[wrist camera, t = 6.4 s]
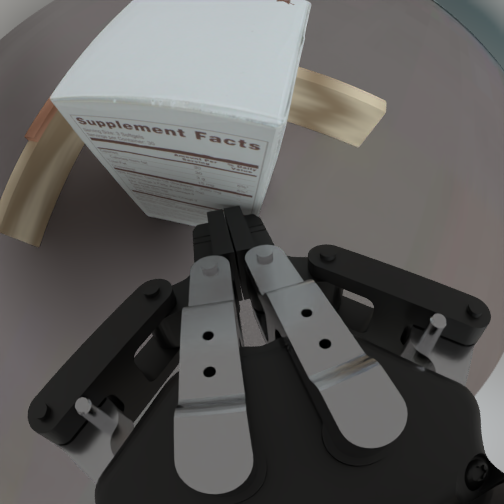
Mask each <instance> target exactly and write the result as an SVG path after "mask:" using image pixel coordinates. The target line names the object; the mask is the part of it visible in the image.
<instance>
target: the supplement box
mask: <svg viewBox="0 0 504 504" xmlns="http://www.w3.org/2000/svg"><path fill="white" fill-rule="evenodd" d="M310 8H311V3H310V2H308V1H305V0H133V1H132V2H131V3H130V4H128V5H127V6H126V7H125V8H124V9H123V10H122V11H121V12H120V13H119V14H118V15H117V16H116V17H115V18H114V19H113V20H112V21H111V22H110V23H109V24H108V25H107V26H106V27H105V28H104V29H103V30H102V31H101V32H100V34H99V35H98V36H97V37H96V38H95V39H94V40H93V41H92V43H91V44H90V45H89V46H88V47H87V48H86V50H85V51H84V52H83V53H82V54H81V56H80V57H79V58H78V59H77V61H76V62H75V63H74V64H73V66H72V67H71V68H70V70H69V71H68V72H67V74H66V75H65V76H64V78H63V79H62V80H61V82H60V83H59V85H58V86H57V88H56V89H55V90H54V92H53V93H52V95H51V96H50V100H51V101H52V103H53V104H54V105H55V107H56V108H57V109H58V110H59V112H60V113H61V114H62V116H63V117H64V118H65V119H66V121H67V122H68V123H69V124H70V126H71V127H72V128H73V130H74V131H75V132H76V133H77V135H78V136H79V137H80V138H81V139H82V141H83V142H84V143H85V144H86V146H87V147H88V148H89V149H90V150H91V152H92V153H93V154H94V155H95V156H96V158H97V159H98V160H99V161H100V162H101V164H102V165H103V166H104V167H105V168H106V169H107V170H108V172H109V173H110V174H111V175H112V176H113V177H114V179H115V180H116V181H117V182H118V183H119V184H120V186H121V187H122V188H123V189H124V190H125V191H126V193H127V194H128V195H129V196H130V197H131V198H132V199H133V200H134V202H135V203H136V204H137V205H138V206H139V207H140V208H141V209H142V210H143V212H144V213H145V214H146V215H147V216H149V217H155V218H159V219H164V220H169V221H173V222H178V223H182V224H187V225H191V226H197V225H199V224H204V223H208V218H207V212H209V211H214V210H219V209H223V213H224V208H229V207H234V206H240V208H241V210H242V213H243V215H249V214H254V215H256V216H259V213H260V210H261V206H262V203H263V200H264V197H265V194H266V191H267V188H268V185H269V182H270V179H271V176H272V173H273V170H274V167H275V164H276V161H277V157H278V154H279V150H280V146H281V143H282V139H283V135H284V131H285V128H286V124H287V120H288V115H289V110H290V105H291V100H292V96H293V91H294V86H295V81H296V76H297V71H298V66H299V62H300V58H301V53H302V49H303V44H304V40H305V32H306V27H307V22H308V17H309V12H310ZM224 217H225V215H224Z"/></svg>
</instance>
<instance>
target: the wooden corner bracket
mask: <svg viewBox="0 0 504 504" xmlns="http://www.w3.org/2000/svg"><path fill="white" fill-rule="evenodd" d="M385 113H386V101H385V100H383V99H381V98H379V97H376V96H374V95H372V94H370V93H368V92H365V91H363V90H361V89H358V88H356V87H354V86H351V85H349V84H346V83H344V82H341V81H339V80H336V79H333V78H331V77H328V76H325V75H322V74H319V73H316V72H313V71H310V70H307V69H304V68H301V67H298V71H297V76H296V81H295V86H294V91H293V96H292V100H291V105H290V110H289V115H288V120H287V122H290V123H293V124H296V125H299V126H302V127H305V128H308V129H311V130H314V131H317V132H320V133H322V134H325V135H328V136H330V137H333V138H336V139H338V140H341V141H343V142H346V143H348V144H351V145H353V146H356V147H358V148H359V146H360V145H361V144H362V143H363V141H364V140H365V139H366V137H367V136H368V135H369V134H370V132H371V131H372V130H373V129H374V127H375V126H376V125H377V123H378V122H379V121H380V120H381V118H382V117H383V116H384V114H385ZM24 137H25V138H26V139H28V140H29V141H28V143H27V145H26V146H25V148H24V150H23V152H22V154H21V156H20V158H19V160H18V162H17V164H16V166H15V168H14V170H13V172H12V174H11V176H10V178H9V181H8V183H7V185H6V187H5V190H4V192H3V195H2V197H1V200H0V233H2V234H5V235H7V236H10V237H13V238H15V239H18V240H20V241H23V242H26V243H28V244H31V245H34V246H36V247H39V246H40V243H41V240H42V238H43V235H44V232H45V229H46V226H47V224H48V221H49V218H50V216H51V213H52V211H53V208H54V206H55V204H56V201H57V199H58V196H59V194H60V192H61V190H62V187H63V185H64V183H65V181H66V179H67V177H68V175H69V173H70V171H71V169H72V167H73V165H74V163H75V161H76V159H77V157H78V155H79V153H80V151H81V149H82V148H83V146H84V144H85V143H84V142H83V141H82V139H81V138H80V137H79V136H78V135H77V133H76V132H75V131H74V130H73V128H72V127H71V126H70V124H69V123H68V122H67V121H66V119H65V118H64V117H63V116H62V114H61V113H60V112H59V110H58V109H57V108H56V107H55V105H54V104H53V103H52V101H51V100H50V97H49V99H48V100H47V102H46V103H45V104H44V106H43V107H42V109H41V110H40V112H39V113H38V115H37V117H36V118H35V120H34V121H33V123H32V125H31V126H30V128H29V130H28V131H27V133H26V135H25V136H24Z"/></svg>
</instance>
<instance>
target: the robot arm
mask: <svg viewBox="0 0 504 504" xmlns="http://www.w3.org/2000/svg"><path fill="white" fill-rule="evenodd" d="M224 215H225V217H224ZM207 218H208V223H204V224H199V225H197V226H196V227H195V229H194V230H193V244H194V245H193V246H194V262H195V263H194V264H193V265H192V267H191V270H190V276H189V277H188V278H186V279H185V280H183V281H181V282H179V283H177V284H175V285H173V286H171V284H170V282H168V281H167V280H164V279H154V280H150V281H147V282H145V283H144V284H142V285H141V286H140V287H139V288H137V289H136V290H135V291H134V292H133V293H132V294H131V295H130V296H129V297H128V298H127V299H126V300H125V301H124V302H123V303H122V304H121V305H120V306H119V307H118V308H117V309H116V310H115V311H114V312H113V313H112V314H111V315H110V316H109V317H108V318H107V319H106V320H105V321H104V322H103V323H102V325H101V326H100V327H99V328H98V329H97V330H96V331H95V332H94V333H93V334H92V335H91V336H90V337H89V338H88V339H87V340H86V341H85V342H84V343H83V344H82V345H81V347H80V348H79V349H78V350H77V351H76V352H75V353H74V354H73V355H72V356H71V357H70V358H69V360H68V361H67V362H66V363H65V364H64V365H63V366H62V367H61V368H60V369H59V371H58V372H57V373H56V374H55V375H54V376H53V377H52V378H51V380H50V381H49V382H48V383H47V384H46V385H45V386H44V388H43V389H42V390H41V391H40V392H39V393H38V395H37V396H36V397H35V398H34V399H33V401H32V402H31V404H30V406H29V410H28V421H29V424H30V426H31V428H32V429H33V430H34V431H36V432H37V433H39V434H40V435H42V436H43V437H45V438H46V439H48V440H49V441H50V442H51V443H53V444H54V445H56V446H58V447H59V448H61V449H62V450H63V451H64V452H65V453H66V454H67V455H68V456H69V458H70V459H71V460H72V461H73V462H74V463H75V464H76V465H77V466H78V467H79V468H80V469H81V470H82V471H83V472H84V473H85V474H86V475H87V476H88V477H89V478H90V479H91V480H92V481H93V482H94V483H95V484H96V489H95V503H96V504H504V473H503V472H501V471H500V470H499V469H497V468H496V467H495V466H494V465H493V464H492V463H491V462H490V461H489V459H488V458H487V456H486V454H485V450H484V446H483V441H482V434H481V419H480V410H479V407H478V404H477V401H476V399H475V397H474V396H473V394H472V393H471V392H470V391H469V390H468V389H467V388H466V387H465V385H466V381H467V377H468V373H469V368H470V364H471V359H472V353H473V348H474V346H475V344H476V343H477V341H478V340H479V338H480V337H481V335H482V334H483V332H484V330H485V329H486V327H487V326H488V324H489V322H490V320H491V314H490V311H489V309H488V307H487V306H486V304H485V303H484V302H483V301H481V300H480V299H478V298H476V297H474V296H471V295H469V294H466V293H464V292H461V291H458V290H456V289H453V288H451V287H448V286H446V285H443V284H440V283H438V282H435V281H432V280H430V279H427V278H425V277H422V276H419V275H416V274H414V273H411V272H408V271H406V270H403V269H400V268H397V267H395V266H392V265H389V264H386V263H383V262H381V261H378V260H375V259H372V258H369V257H366V256H364V255H361V254H358V253H355V252H352V251H349V250H346V249H343V248H340V247H337V246H334V245H319V246H316V247H314V248H312V249H311V250H310V251H309V253H308V257H290V256H286V254H285V253H284V252H283V250H282V249H280V248H279V247H277V246H274V244H273V242H272V240H271V238H270V236H269V234H268V232H267V230H266V228H265V226H264V225H263V222H262V220H261V218H259V217H258V216H256V215H254V214H249V215H243V213H242V210H241V208H240V206H234V207H229V208H224V213H223V209H219V210H214V211H209V212H207ZM240 286H241V287H240ZM241 289H242V293H243V297H244V300H246V299H250V300H251V303H252V309H253V314H254V317H255V319H256V322H257V324H258V326H259V329H260V331H261V334H262V336H263V338H264V341H265V343H266V345H263V346H258V347H244V340H243V333H242V326H241V319H240V314H239V312H240V305H239V301H241V300H243V299H242V293H241ZM343 289H345V290H347V291H350V292H352V293H355V294H357V295H360V296H362V297H365V298H367V299H369V300H370V301H371V302H372V303H373V305H374V308H371V307H369V306H366V305H364V304H361V303H359V302H356V301H354V300H352V299H349V298H347V297H344V296H342V294H343ZM151 333H152V334H153V337H152V338H151V339H150V340H149V341H148V342H147V344H146V345H145V346H144V347H143V348H142V349H141V351H140V352H139V353H138V354H137V355H136V356H135V358H134V355H135V352H136V351H137V349H138V348H139V347H140V346H141V344H142V343H143V342H144V341H145V340H146V339H147V338H148V336H149V335H150V334H151ZM178 364H179V372H177V373H176V374H175V375H174V376H172V377H171V378H170V379H169V381H168V382H167V383H166V384H165V385H164V387H163V388H162V390H161V391H160V392H159V394H158V395H157V397H156V398H155V399H154V401H153V402H152V404H151V405H150V407H149V408H148V409H147V411H146V412H145V414H144V415H143V416H142V418H141V419H140V421H139V422H138V423H137V425H136V426H135V428H134V425H133V423H134V421H135V420H136V419H137V417H138V416H139V415H140V414H141V412H142V411H143V410H144V408H145V407H146V406H147V404H148V403H149V402H150V401H151V399H152V398H153V397H154V395H155V394H156V393H157V391H158V390H159V389H160V387H161V386H162V385H163V384H164V382H165V381H166V380H167V378H168V377H169V376H170V374H171V373H172V372H173V370H174V369H175V368H176V366H177V365H178Z"/></svg>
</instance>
